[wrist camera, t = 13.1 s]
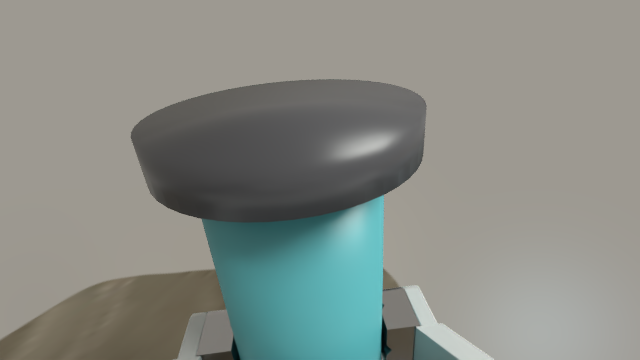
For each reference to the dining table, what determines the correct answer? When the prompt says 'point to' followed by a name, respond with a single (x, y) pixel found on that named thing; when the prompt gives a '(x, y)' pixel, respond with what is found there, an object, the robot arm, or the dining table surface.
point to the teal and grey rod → (290, 204)
